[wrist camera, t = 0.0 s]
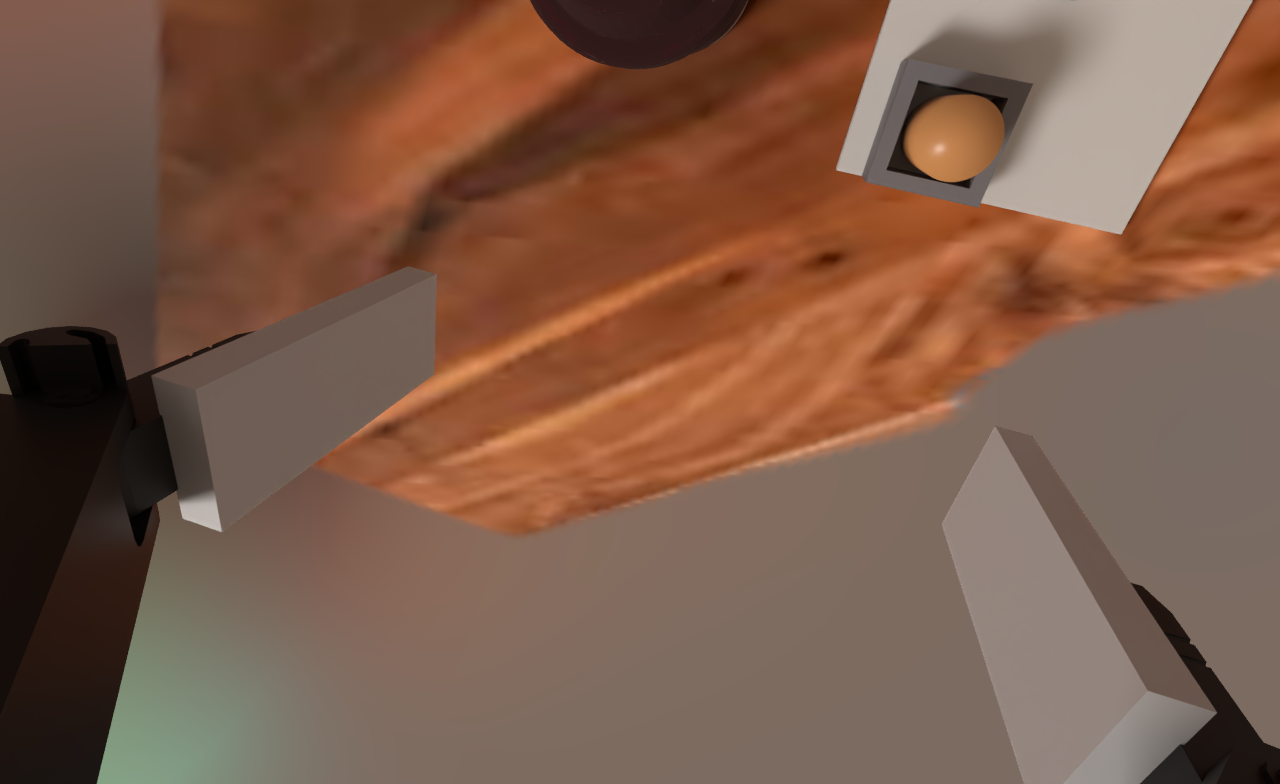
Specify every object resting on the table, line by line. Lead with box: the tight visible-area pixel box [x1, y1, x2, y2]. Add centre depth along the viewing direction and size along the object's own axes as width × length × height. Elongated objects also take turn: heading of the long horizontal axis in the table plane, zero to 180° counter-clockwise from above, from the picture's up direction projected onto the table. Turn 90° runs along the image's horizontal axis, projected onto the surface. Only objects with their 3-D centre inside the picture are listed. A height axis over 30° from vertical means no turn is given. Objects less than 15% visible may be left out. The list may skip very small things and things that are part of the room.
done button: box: [901, 95, 1005, 182], centre depth 31 cm, size 4×4×5 cm
